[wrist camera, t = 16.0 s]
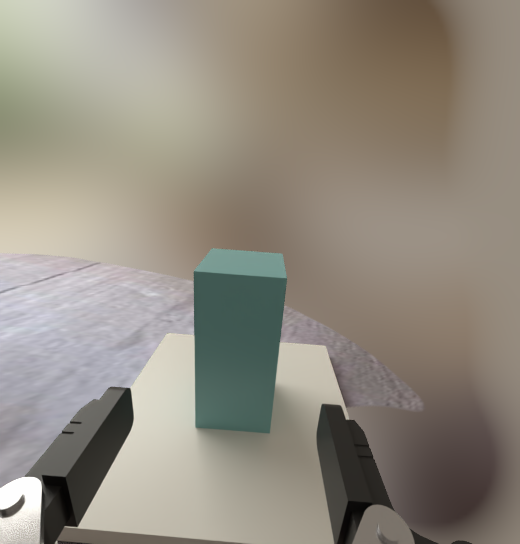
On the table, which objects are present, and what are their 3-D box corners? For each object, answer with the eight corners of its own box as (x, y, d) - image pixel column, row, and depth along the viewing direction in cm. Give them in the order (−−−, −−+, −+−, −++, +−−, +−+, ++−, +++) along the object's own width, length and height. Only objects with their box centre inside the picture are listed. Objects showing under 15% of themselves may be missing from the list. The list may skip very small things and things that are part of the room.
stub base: (389, 570, 14) (422, 485, 12) (43, 539, 14) (15, 450, 12) (323, 354, 31) (332, 304, 29) (167, 342, 31) (165, 290, 29)
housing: (269, 433, 20) (287, 278, 16) (195, 427, 20) (193, 271, 16) (269, 380, 25) (282, 253, 21) (210, 376, 25) (212, 248, 21)
